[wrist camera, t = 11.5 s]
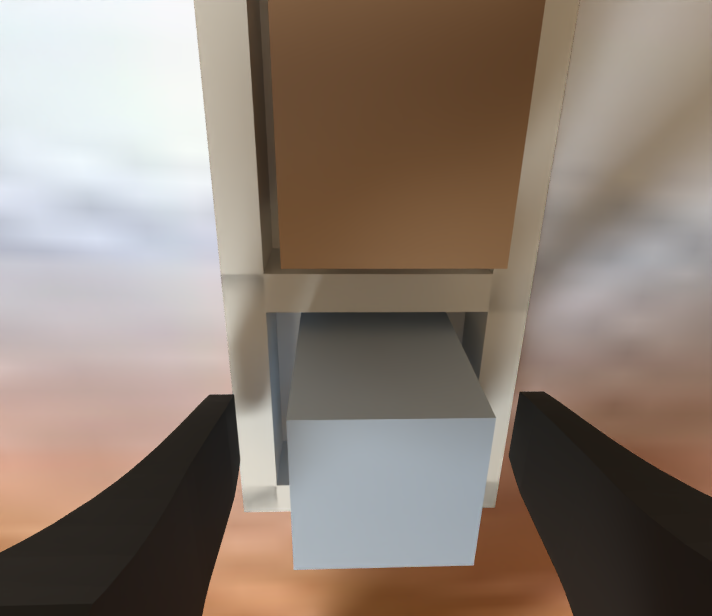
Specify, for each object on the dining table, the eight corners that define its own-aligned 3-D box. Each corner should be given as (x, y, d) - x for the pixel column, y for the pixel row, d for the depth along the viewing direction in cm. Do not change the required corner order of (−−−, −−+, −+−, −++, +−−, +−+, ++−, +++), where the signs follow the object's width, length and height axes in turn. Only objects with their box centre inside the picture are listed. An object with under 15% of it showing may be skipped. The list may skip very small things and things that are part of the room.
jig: (477, 442, 18) (502, 507, 16) (250, 445, 18) (235, 512, 15) (560, -152, 11) (631, -222, 9) (198, -165, 11) (154, -242, 8)
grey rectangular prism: (431, 416, 16) (473, 565, 11) (306, 418, 16) (293, 569, 11) (441, 302, 15) (495, 418, 10) (302, 302, 15) (286, 420, 10)
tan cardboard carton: (449, 204, 14) (506, 269, 9) (298, 203, 14) (281, 268, 9) (473, -69, 11) (569, -167, 7) (289, -74, 11) (259, -180, 6)
